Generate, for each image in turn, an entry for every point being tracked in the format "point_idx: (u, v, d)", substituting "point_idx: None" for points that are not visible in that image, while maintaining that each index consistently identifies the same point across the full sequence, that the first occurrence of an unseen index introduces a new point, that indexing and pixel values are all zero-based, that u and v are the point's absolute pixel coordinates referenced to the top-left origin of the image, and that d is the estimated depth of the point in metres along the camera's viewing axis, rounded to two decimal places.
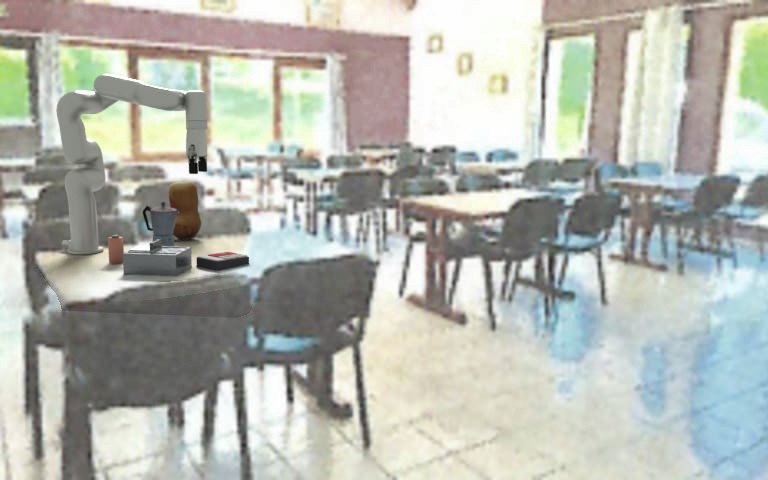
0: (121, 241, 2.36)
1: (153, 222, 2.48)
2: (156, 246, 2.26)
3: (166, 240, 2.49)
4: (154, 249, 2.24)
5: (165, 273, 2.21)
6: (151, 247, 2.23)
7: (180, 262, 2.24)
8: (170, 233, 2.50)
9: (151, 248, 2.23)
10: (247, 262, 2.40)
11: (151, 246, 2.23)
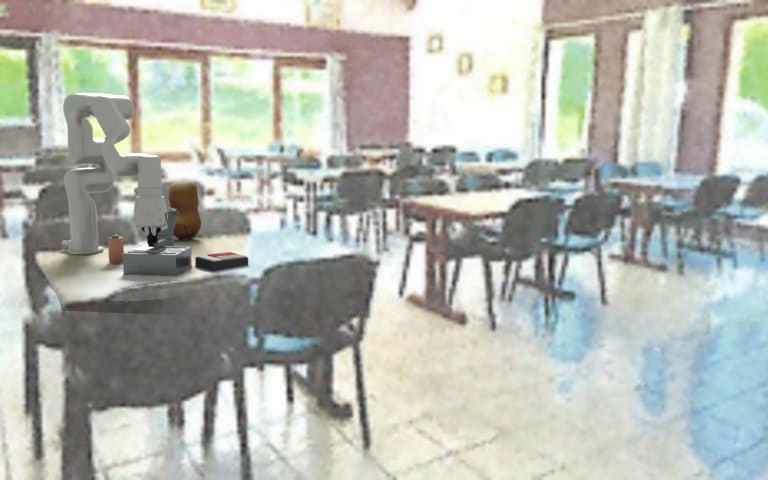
0: (121, 241, 2.36)
1: None
2: (160, 246, 2.26)
3: (166, 240, 2.49)
4: (158, 249, 2.24)
5: (165, 273, 2.21)
6: (155, 247, 2.23)
7: (180, 262, 2.24)
8: (170, 233, 2.50)
9: (155, 248, 2.23)
10: (246, 263, 2.39)
11: (155, 246, 2.23)
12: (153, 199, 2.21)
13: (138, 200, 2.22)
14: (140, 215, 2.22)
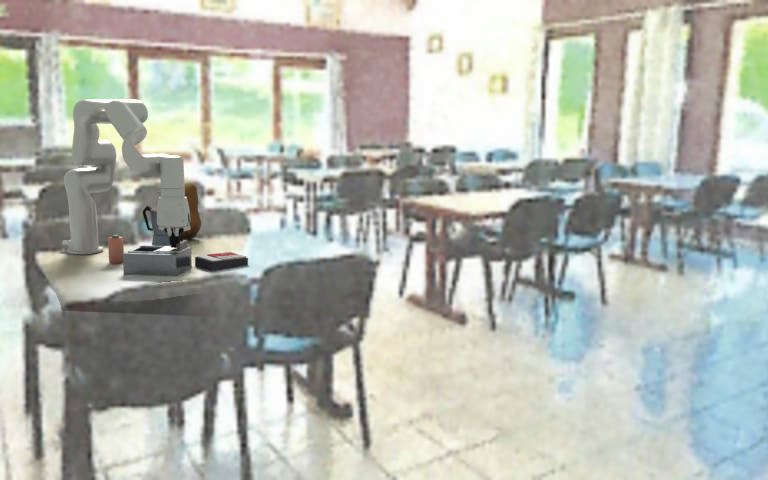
0: (121, 241, 2.36)
1: (153, 222, 2.48)
2: (183, 246, 2.26)
3: (166, 240, 2.49)
4: (181, 250, 2.24)
5: (165, 273, 2.21)
6: (178, 248, 2.23)
7: (180, 262, 2.24)
8: None
9: (178, 249, 2.23)
10: (246, 263, 2.38)
11: (178, 247, 2.23)
12: (176, 200, 2.21)
13: (161, 201, 2.21)
14: (163, 216, 2.22)
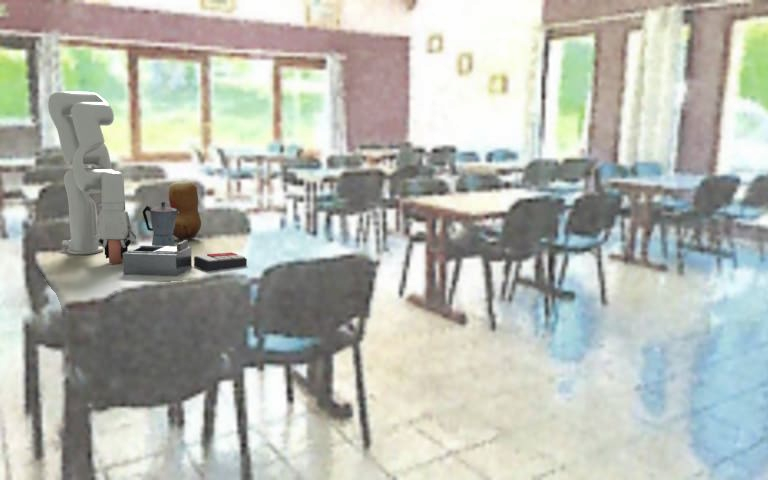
0: None
1: (153, 222, 2.48)
2: (183, 246, 2.26)
3: (166, 240, 2.49)
4: (181, 250, 2.24)
5: (165, 273, 2.21)
6: (178, 248, 2.23)
7: (180, 262, 2.24)
8: (170, 233, 2.50)
9: (178, 249, 2.23)
10: (244, 264, 2.37)
11: (178, 247, 2.23)
12: (116, 214, 2.32)
13: (102, 214, 2.33)
14: (104, 229, 2.34)
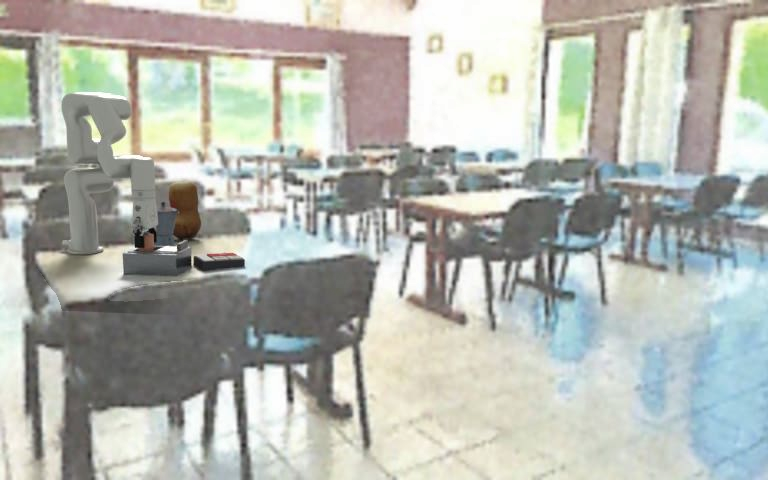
0: None
1: None
2: (183, 246, 2.26)
3: (166, 240, 2.49)
4: (181, 250, 2.24)
5: (165, 273, 2.21)
6: (178, 248, 2.23)
7: (180, 262, 2.24)
8: (170, 233, 2.50)
9: (178, 249, 2.23)
10: (242, 265, 2.36)
11: (178, 247, 2.23)
12: (154, 200, 2.26)
13: (147, 203, 2.21)
14: (149, 218, 2.23)
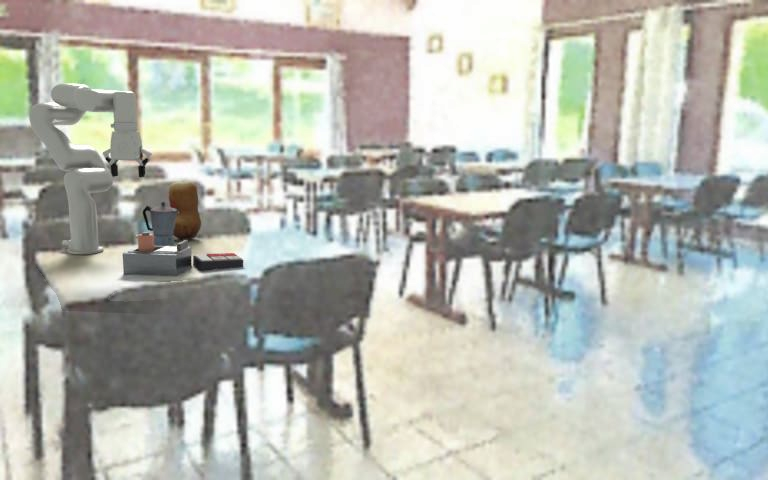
0: None
1: (153, 222, 2.48)
2: (183, 246, 2.26)
3: (166, 240, 2.49)
4: (181, 250, 2.24)
5: (165, 273, 2.21)
6: (178, 248, 2.23)
7: (180, 262, 2.24)
8: (170, 233, 2.50)
9: (178, 249, 2.23)
10: (240, 265, 2.35)
11: (178, 247, 2.23)
12: (128, 133, 2.31)
13: (114, 134, 2.31)
14: (116, 149, 2.32)
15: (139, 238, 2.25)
